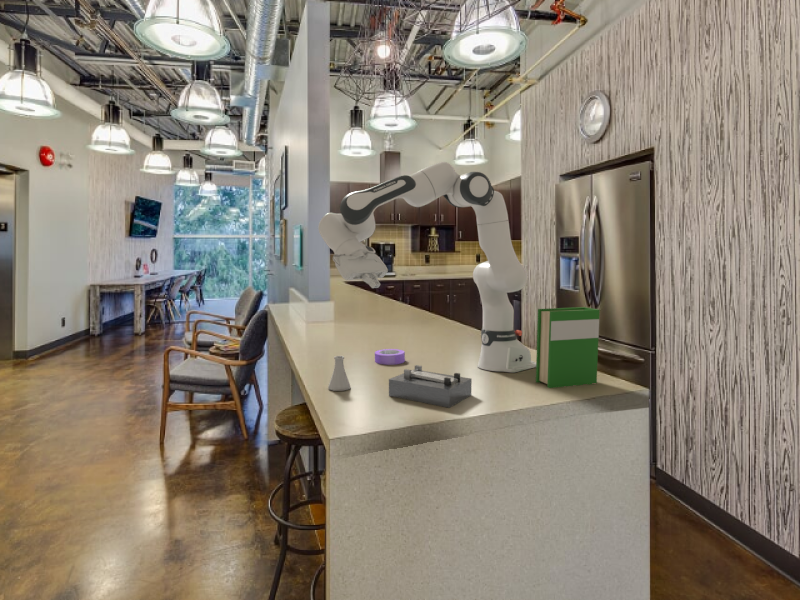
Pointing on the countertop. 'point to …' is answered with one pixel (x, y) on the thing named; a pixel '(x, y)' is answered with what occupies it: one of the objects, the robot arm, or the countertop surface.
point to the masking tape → (389, 356)
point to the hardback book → (567, 346)
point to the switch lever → (431, 376)
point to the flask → (339, 376)
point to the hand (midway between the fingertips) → (376, 286)
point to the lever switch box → (430, 388)
